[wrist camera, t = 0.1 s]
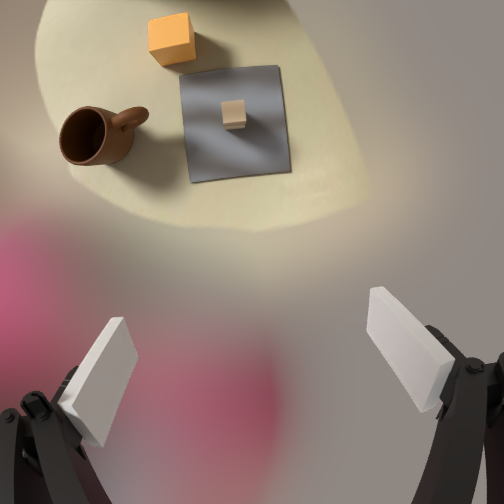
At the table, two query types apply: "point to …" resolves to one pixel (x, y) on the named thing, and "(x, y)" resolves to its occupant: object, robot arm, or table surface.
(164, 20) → the orange foam cube
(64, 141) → the mug
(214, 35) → the table surface
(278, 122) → the grey rubber mat
